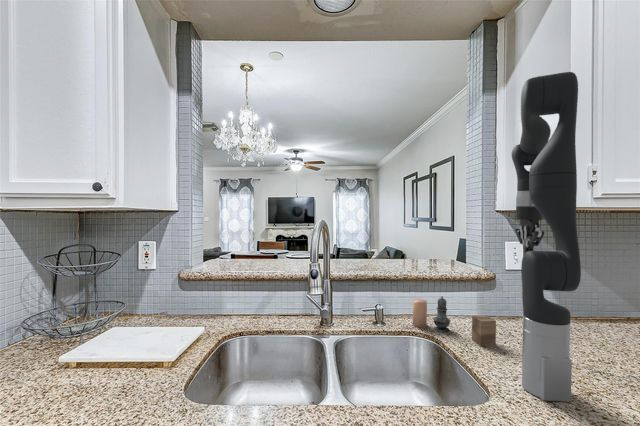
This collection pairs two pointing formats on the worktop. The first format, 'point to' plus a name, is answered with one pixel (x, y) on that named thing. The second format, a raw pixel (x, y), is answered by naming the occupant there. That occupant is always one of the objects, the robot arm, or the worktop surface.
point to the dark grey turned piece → (441, 317)
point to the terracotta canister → (419, 313)
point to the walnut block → (484, 330)
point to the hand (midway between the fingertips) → (528, 258)
